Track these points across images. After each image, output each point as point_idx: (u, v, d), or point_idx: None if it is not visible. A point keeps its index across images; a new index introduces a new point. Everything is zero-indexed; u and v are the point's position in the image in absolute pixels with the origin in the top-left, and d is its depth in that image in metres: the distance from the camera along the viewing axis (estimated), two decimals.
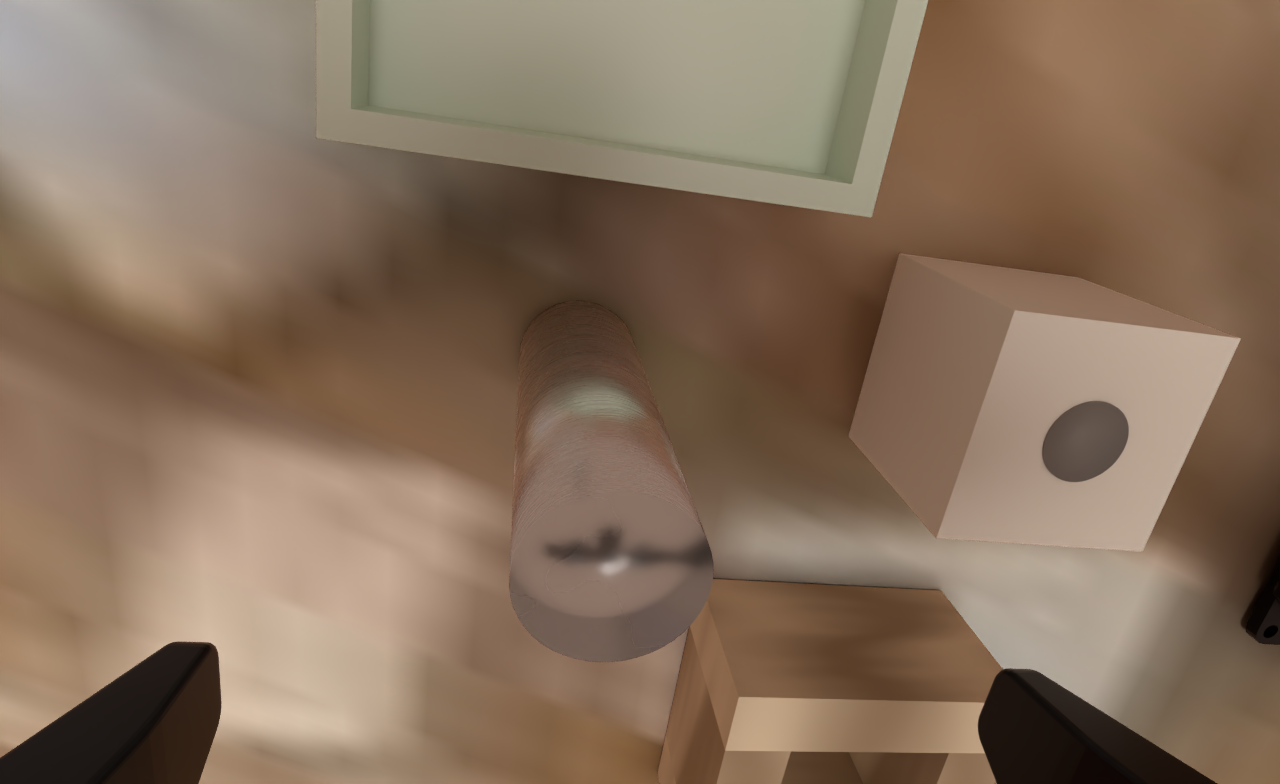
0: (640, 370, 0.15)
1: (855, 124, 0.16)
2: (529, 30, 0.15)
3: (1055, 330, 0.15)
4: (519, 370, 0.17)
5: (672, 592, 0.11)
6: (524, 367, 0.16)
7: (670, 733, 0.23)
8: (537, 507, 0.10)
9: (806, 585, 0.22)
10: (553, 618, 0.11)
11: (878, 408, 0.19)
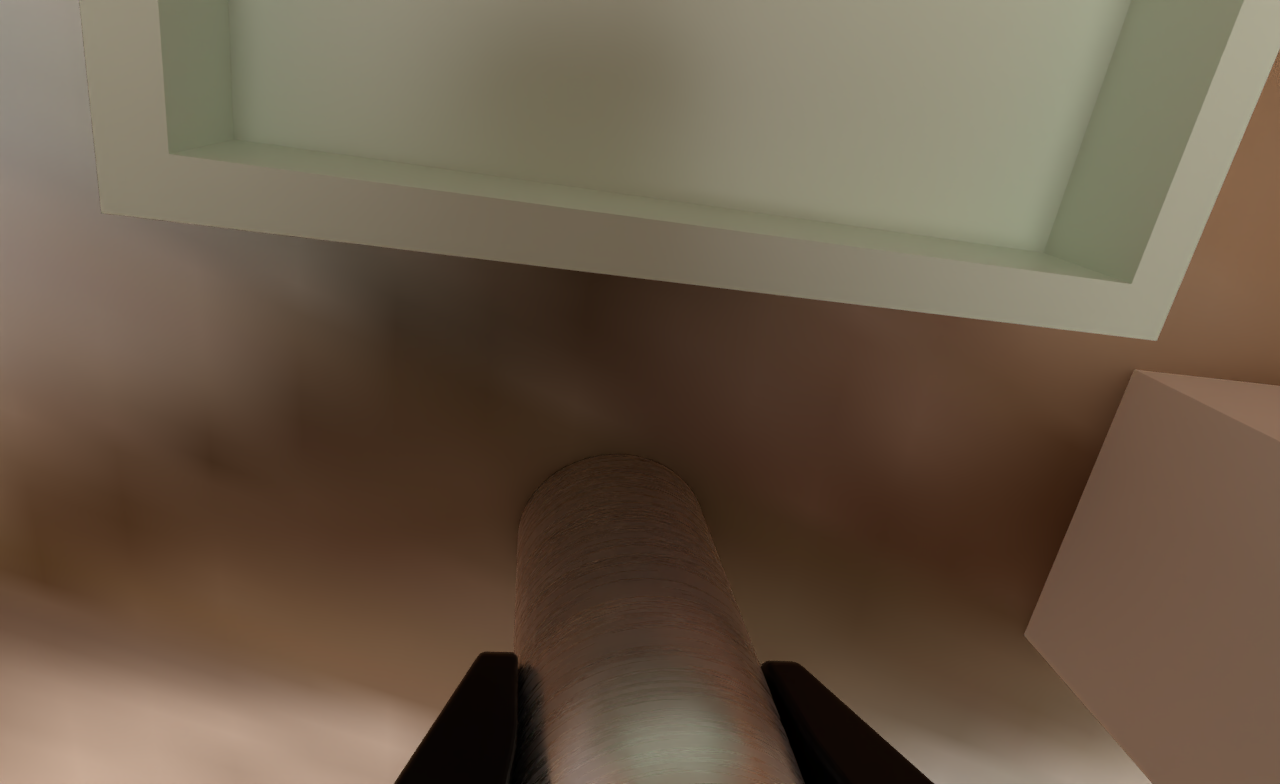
0: (742, 633, 0.08)
1: (1133, 173, 0.09)
2: None
3: None
4: (517, 595, 0.10)
5: None
6: (525, 610, 0.09)
7: None
8: None
9: None
10: None
11: (1096, 615, 0.12)
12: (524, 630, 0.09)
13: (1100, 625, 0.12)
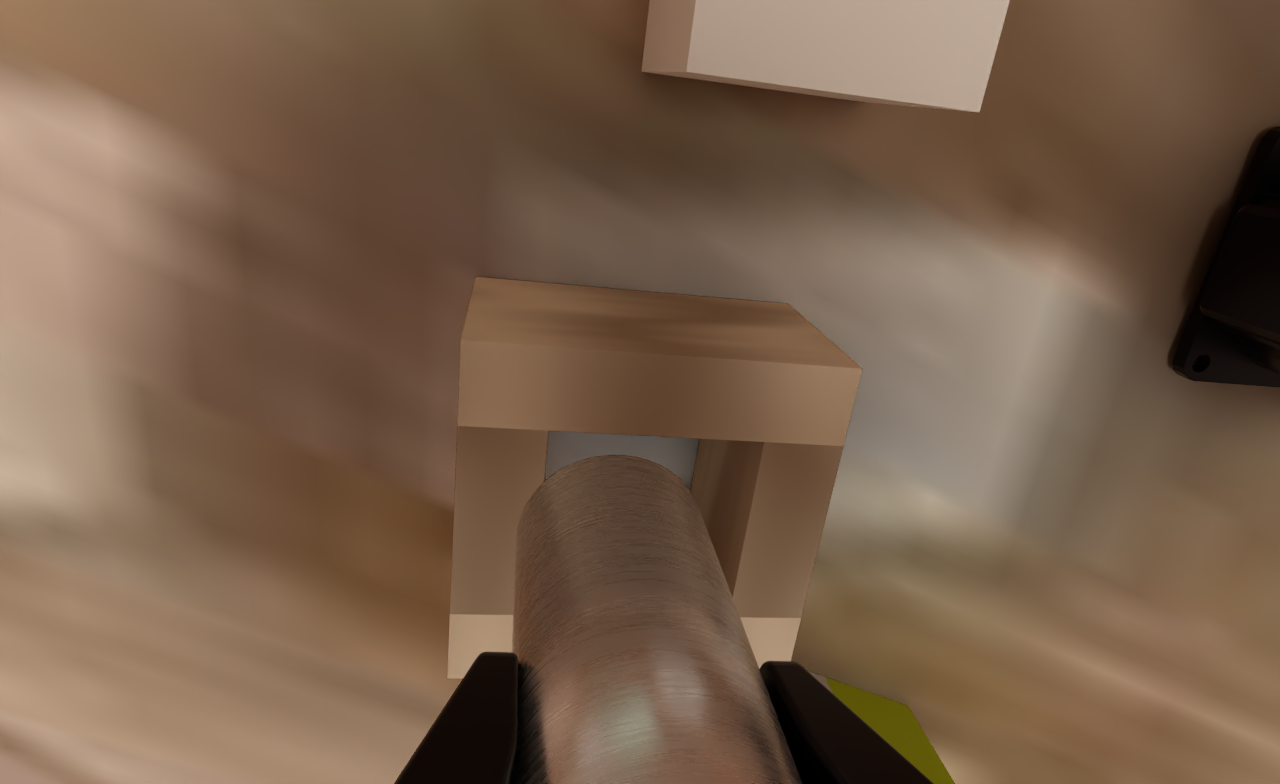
0: (740, 634, 0.08)
1: None
2: None
3: None
4: (515, 596, 0.10)
5: None
6: (523, 611, 0.09)
7: None
8: None
9: (613, 289, 0.18)
10: None
11: None
12: (522, 631, 0.09)
13: (659, 0, 0.15)
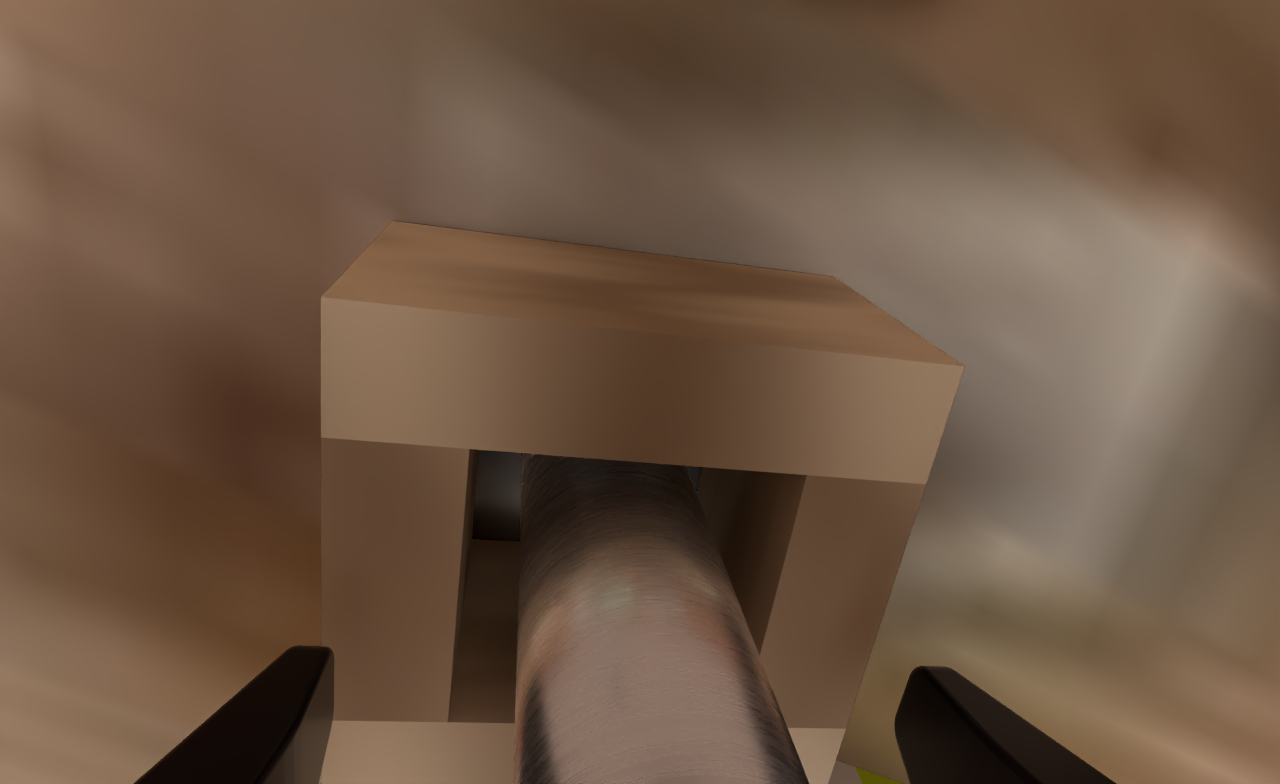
0: (692, 495, 0.11)
1: None
2: None
3: None
4: (522, 482, 0.12)
5: None
6: (529, 485, 0.12)
7: None
8: None
9: (590, 246, 0.13)
10: None
11: None
12: (529, 497, 0.11)
13: None
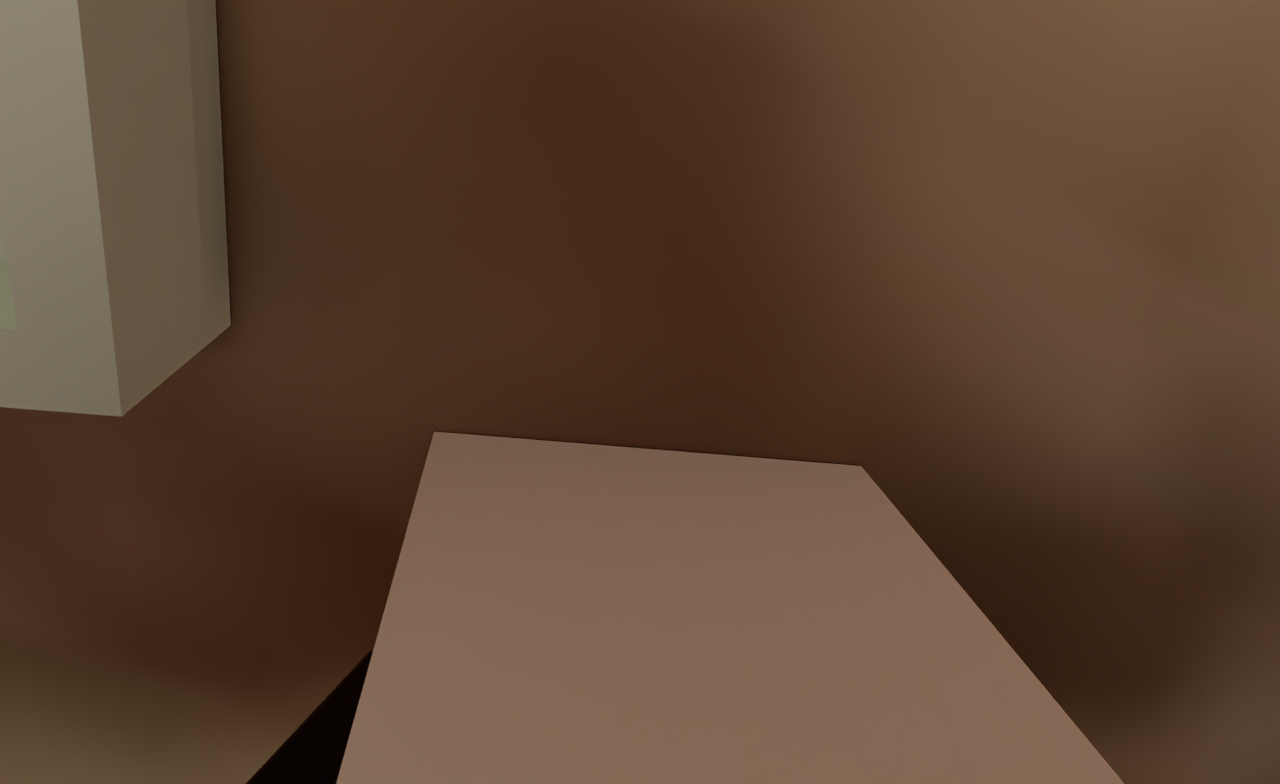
0: None
1: None
2: None
3: None
4: None
5: None
6: None
7: None
8: None
9: None
10: None
11: None
12: None
13: None
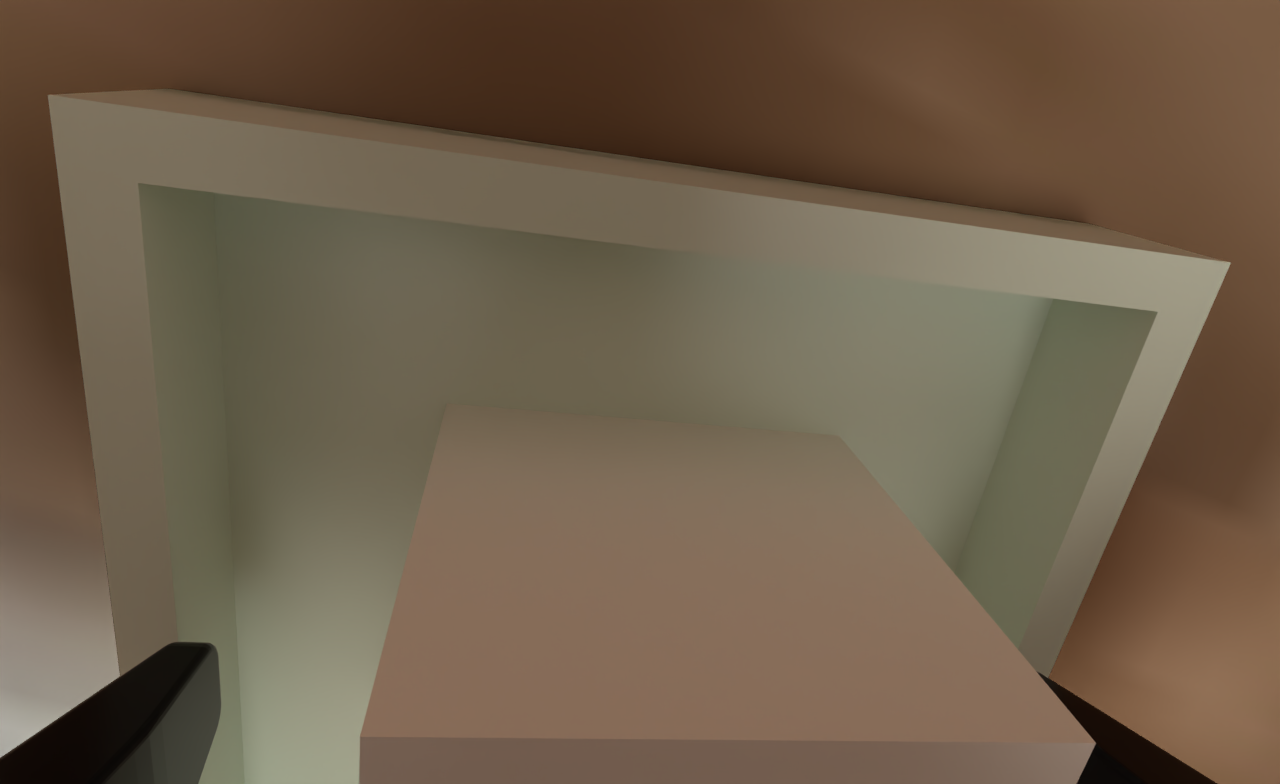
0: None
1: None
2: None
3: (518, 772, 0.05)
4: None
5: None
6: None
7: None
8: None
9: None
10: None
11: None
12: None
13: None
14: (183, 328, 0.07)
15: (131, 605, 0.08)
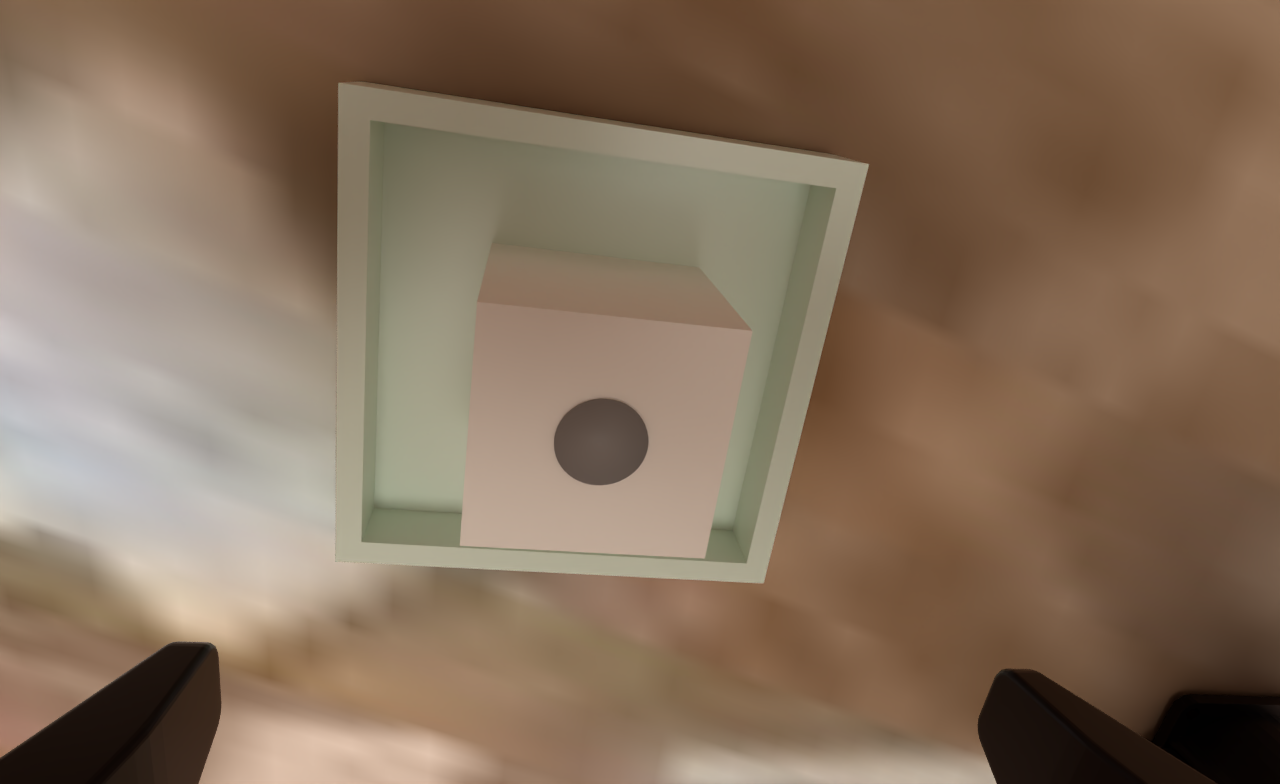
0: None
1: (749, 515, 0.20)
2: None
3: (531, 323, 0.14)
4: None
5: None
6: None
7: None
8: None
9: None
10: None
11: None
12: None
13: None
14: (374, 191, 0.16)
15: (345, 325, 0.17)
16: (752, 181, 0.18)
